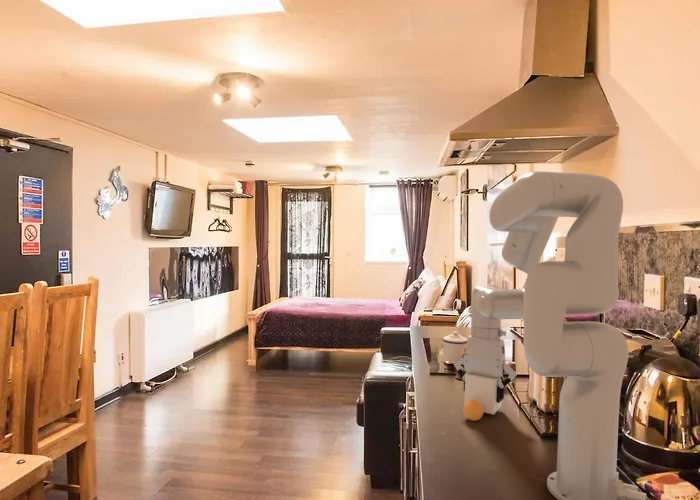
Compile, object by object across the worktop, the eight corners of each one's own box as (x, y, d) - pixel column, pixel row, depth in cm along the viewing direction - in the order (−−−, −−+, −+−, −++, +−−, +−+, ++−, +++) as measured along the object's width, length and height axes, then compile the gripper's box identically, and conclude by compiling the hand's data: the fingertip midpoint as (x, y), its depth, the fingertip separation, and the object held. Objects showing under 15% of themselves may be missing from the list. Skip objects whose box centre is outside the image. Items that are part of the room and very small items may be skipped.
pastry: (478, 373, 154) (478, 363, 154) (476, 384, 143) (477, 373, 143) (458, 371, 157) (458, 361, 157) (454, 381, 145) (455, 370, 145)
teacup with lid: (467, 367, 160) (468, 335, 160) (442, 365, 162) (443, 333, 161) (466, 358, 172) (467, 328, 171) (442, 356, 173) (443, 327, 173)
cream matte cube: (501, 405, 120) (502, 373, 120) (493, 414, 114) (494, 380, 113) (473, 399, 124) (474, 368, 124) (464, 407, 118) (465, 374, 118)
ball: (482, 398, 111) (477, 416, 109) (487, 408, 114) (482, 426, 112) (463, 394, 114) (458, 412, 112) (469, 404, 117) (463, 421, 115)
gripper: (522, 335, 117) (520, 401, 117) (458, 326, 126) (456, 387, 127) (515, 340, 111) (513, 409, 111) (449, 330, 120) (447, 394, 121)
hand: (483, 397), depth 119 cm, fingers closed on cream matte cube, 7 cm apart
